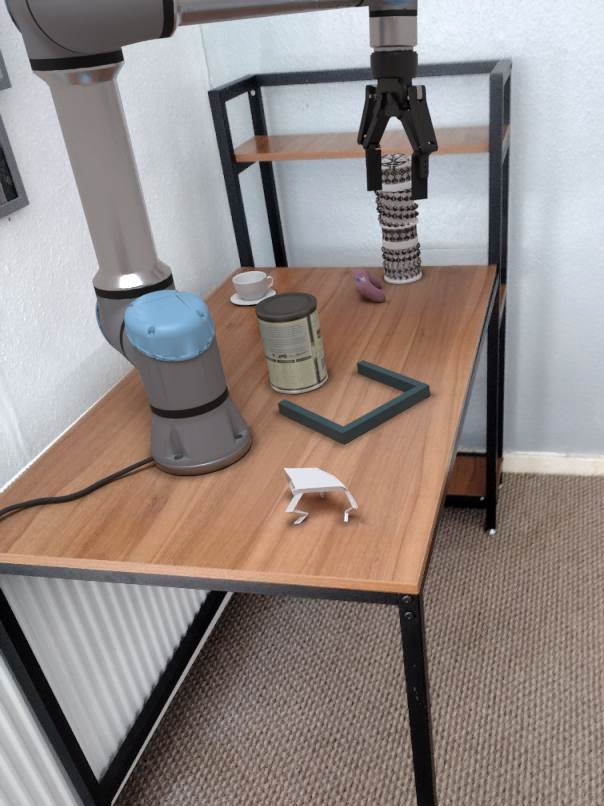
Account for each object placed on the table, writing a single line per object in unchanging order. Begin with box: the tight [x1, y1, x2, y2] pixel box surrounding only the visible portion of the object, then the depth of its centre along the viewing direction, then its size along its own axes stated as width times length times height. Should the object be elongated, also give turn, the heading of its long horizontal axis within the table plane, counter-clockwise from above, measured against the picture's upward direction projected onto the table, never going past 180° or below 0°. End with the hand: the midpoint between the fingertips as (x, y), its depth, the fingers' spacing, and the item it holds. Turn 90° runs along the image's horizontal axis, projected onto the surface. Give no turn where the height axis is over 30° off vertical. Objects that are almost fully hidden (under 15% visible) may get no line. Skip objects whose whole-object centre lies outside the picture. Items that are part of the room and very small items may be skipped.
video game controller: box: [352, 266, 387, 303], centre depth 165 cm, size 10×5×7 cm, turn 6°
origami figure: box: [283, 467, 359, 525], centre depth 104 cm, size 12×8×5 cm
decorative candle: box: [373, 152, 423, 285], centre depth 167 cm, size 9×9×25 cm
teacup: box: [229, 270, 277, 306], centre depth 171 cm, size 10×10×5 cm
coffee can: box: [254, 291, 329, 395], centre depth 134 cm, size 10×10×14 cm
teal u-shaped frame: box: [277, 359, 431, 445], centre depth 128 cm, size 16×19×2 cm
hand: (396, 195), depth 134 cm, fingers open, 13 cm apart
